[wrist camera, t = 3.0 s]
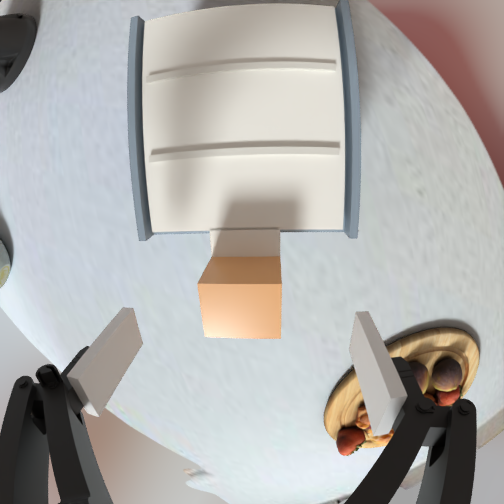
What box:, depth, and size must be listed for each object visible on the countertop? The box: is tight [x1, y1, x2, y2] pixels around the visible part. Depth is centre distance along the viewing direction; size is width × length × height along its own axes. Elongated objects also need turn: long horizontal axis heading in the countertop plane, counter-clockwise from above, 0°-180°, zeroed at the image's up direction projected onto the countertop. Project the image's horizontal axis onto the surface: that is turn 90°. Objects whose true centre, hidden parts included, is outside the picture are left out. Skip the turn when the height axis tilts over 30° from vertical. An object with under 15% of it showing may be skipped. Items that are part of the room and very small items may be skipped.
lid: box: [142, 3, 345, 339], centre depth 17 cm, size 23×14×7 cm, turn 2°
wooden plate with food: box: [324, 327, 479, 456], centre depth 38 cm, size 32×32×8 cm
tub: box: [127, 0, 361, 241], centre depth 23 cm, size 18×16×13 cm
